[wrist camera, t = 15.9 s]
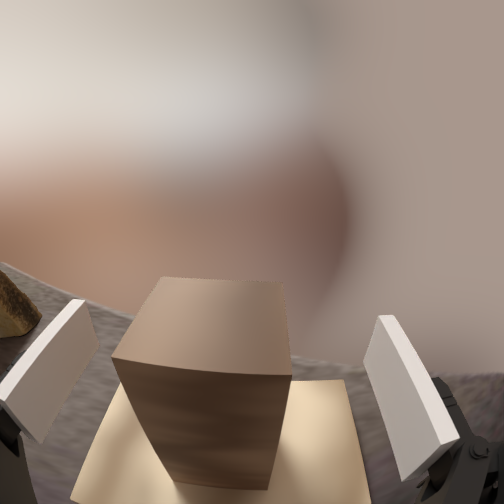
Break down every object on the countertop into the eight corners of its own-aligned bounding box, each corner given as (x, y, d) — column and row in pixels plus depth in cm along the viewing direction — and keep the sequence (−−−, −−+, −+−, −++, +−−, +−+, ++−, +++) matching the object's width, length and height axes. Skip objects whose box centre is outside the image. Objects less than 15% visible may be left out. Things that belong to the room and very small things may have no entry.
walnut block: (172, 481, 11) (111, 356, 7) (188, 414, 15) (161, 276, 11) (267, 490, 11) (292, 374, 7) (268, 421, 15) (282, 282, 11)
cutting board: (84, 508, 8) (69, 498, 8) (135, 383, 20) (128, 366, 19) (362, 535, 8) (375, 530, 7) (337, 395, 19) (343, 379, 18)
